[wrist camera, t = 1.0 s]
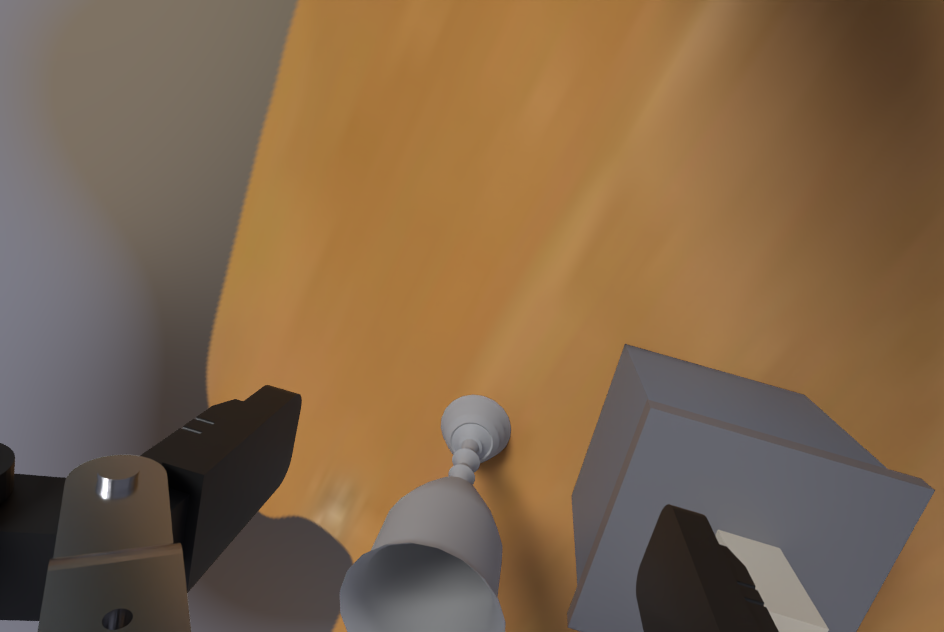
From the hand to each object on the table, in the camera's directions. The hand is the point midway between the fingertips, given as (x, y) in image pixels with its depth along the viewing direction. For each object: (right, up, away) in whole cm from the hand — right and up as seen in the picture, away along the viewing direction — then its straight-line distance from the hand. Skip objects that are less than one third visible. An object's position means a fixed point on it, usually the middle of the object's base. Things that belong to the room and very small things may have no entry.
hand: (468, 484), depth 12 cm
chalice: (0, -4, +29) cm, 29 cm away
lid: (+13, -8, +18) cm, 23 cm away
